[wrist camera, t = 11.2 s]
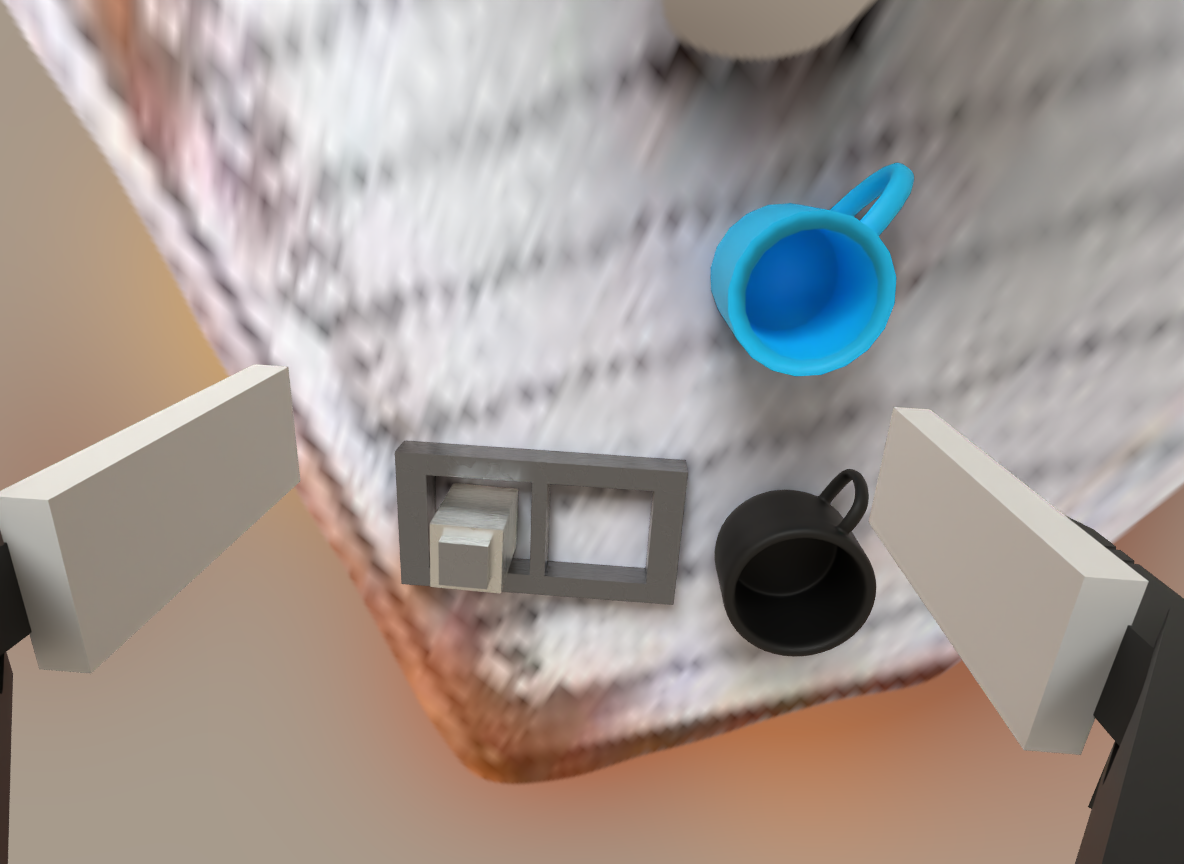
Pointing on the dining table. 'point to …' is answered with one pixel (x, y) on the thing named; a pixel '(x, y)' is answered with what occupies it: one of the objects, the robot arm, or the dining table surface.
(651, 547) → the grey window frame
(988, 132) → the dining table surface
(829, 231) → the mug
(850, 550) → the mug
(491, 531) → the beige square peg
